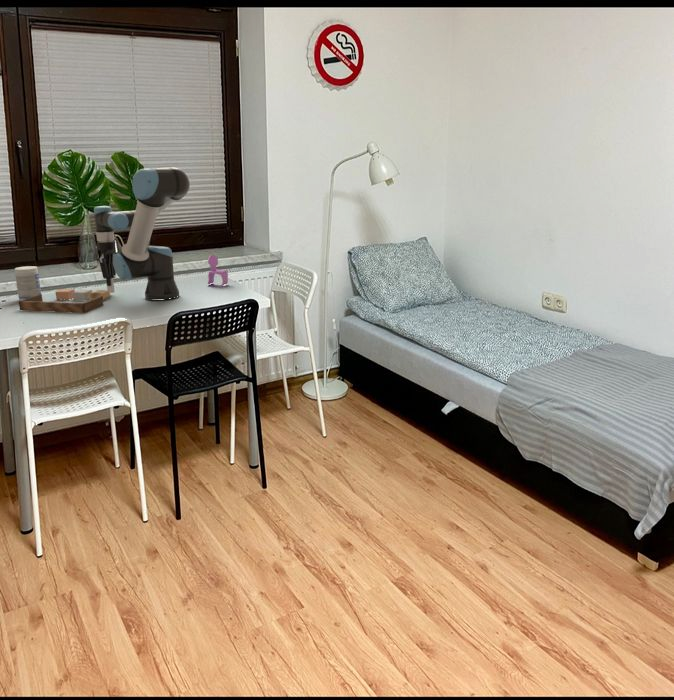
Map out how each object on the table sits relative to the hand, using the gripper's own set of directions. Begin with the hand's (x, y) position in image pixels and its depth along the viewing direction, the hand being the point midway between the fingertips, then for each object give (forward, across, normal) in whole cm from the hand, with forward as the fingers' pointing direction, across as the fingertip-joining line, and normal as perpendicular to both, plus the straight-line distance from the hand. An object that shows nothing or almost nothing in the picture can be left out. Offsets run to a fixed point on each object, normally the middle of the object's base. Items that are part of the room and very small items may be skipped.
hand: (111, 292), depth 319 cm
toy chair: (+2, -28, +41) cm, 50 cm away
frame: (+1, +27, -8) cm, 28 cm away
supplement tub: (+2, +15, -32) cm, 35 cm away
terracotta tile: (+2, +10, -17) cm, 20 cm away
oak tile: (+2, +10, 0) cm, 10 cm away
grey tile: (+2, +10, -8) cm, 13 cm away
